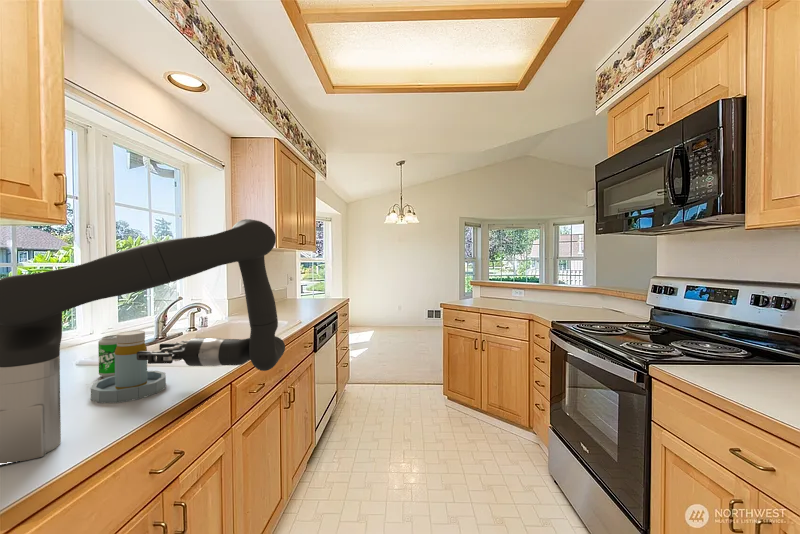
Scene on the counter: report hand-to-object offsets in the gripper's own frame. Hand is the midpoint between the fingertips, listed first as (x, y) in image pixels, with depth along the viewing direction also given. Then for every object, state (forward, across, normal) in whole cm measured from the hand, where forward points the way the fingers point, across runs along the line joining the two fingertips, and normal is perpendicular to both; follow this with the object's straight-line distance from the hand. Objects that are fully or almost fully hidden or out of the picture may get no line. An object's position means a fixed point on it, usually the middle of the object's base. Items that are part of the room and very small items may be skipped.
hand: (149, 351), depth 96 cm
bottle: (+5, 0, +10) cm, 11 cm away
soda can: (+20, -13, +11) cm, 26 cm away
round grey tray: (+5, 0, +11) cm, 12 cm away
